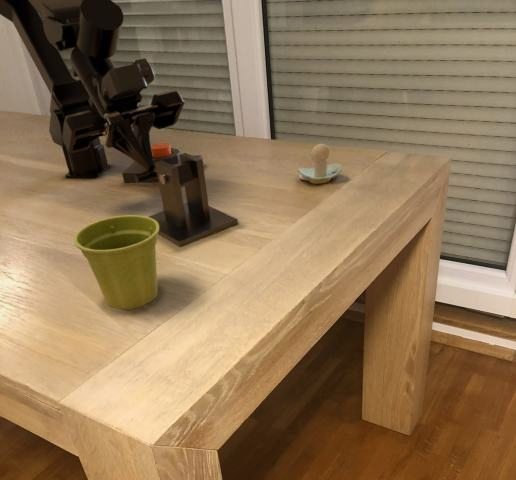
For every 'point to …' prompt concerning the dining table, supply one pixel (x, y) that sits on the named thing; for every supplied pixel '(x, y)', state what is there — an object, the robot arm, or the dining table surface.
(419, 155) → the dining table surface
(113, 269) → the plant pot
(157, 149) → the button
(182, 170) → the dark t-shaped lever
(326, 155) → the pacifier
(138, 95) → the robot arm
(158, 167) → the dark brown stand
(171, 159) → the block
